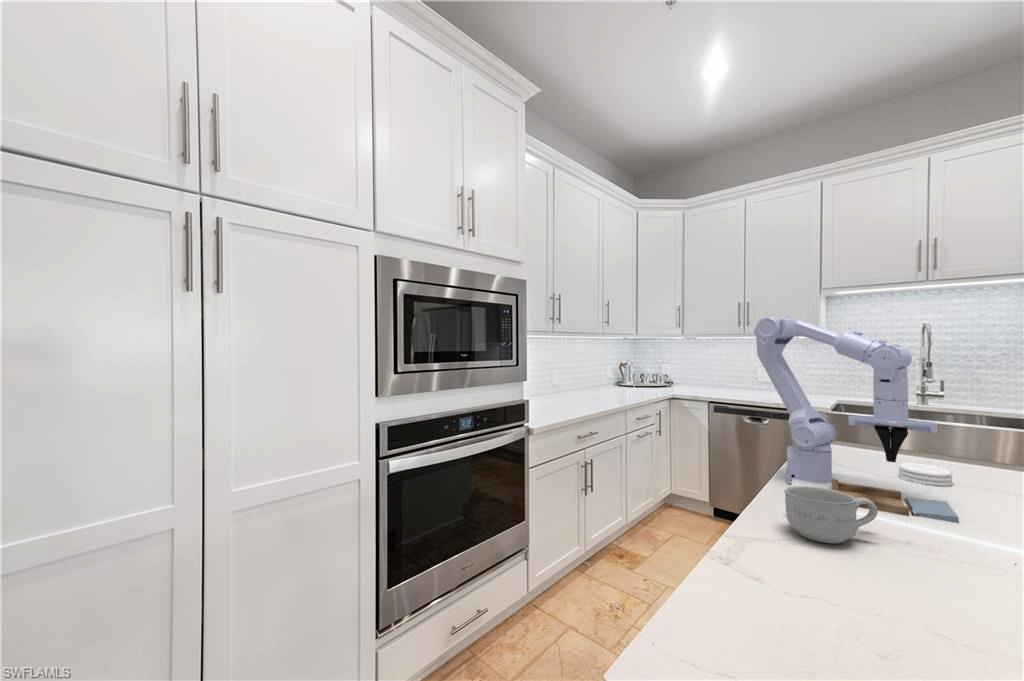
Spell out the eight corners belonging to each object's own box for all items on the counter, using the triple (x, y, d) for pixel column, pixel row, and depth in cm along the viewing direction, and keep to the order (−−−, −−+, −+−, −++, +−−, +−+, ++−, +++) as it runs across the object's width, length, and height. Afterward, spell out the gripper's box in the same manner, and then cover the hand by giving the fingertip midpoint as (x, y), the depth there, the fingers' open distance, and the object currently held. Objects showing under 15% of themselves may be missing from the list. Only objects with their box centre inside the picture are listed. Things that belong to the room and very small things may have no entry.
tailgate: (911, 512, 83) (958, 517, 79) (903, 497, 92) (945, 500, 88) (912, 518, 83) (959, 524, 79) (904, 502, 92) (946, 506, 88)
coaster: (902, 473, 117) (902, 460, 117) (954, 482, 109) (954, 468, 109) (895, 480, 110) (895, 467, 110) (950, 490, 103) (950, 476, 103)
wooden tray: (832, 509, 90) (832, 492, 90) (831, 493, 100) (831, 478, 100) (909, 523, 83) (909, 505, 83) (900, 505, 92) (900, 489, 92)
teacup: (787, 542, 75) (787, 496, 75) (781, 519, 85) (781, 479, 85) (889, 560, 69) (889, 511, 69) (870, 534, 78) (870, 490, 78)
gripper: (849, 398, 95) (849, 459, 95) (940, 404, 86) (941, 471, 86) (847, 395, 100) (848, 453, 100) (933, 400, 92) (933, 463, 92)
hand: (890, 461), depth 93 cm, fingers closed
